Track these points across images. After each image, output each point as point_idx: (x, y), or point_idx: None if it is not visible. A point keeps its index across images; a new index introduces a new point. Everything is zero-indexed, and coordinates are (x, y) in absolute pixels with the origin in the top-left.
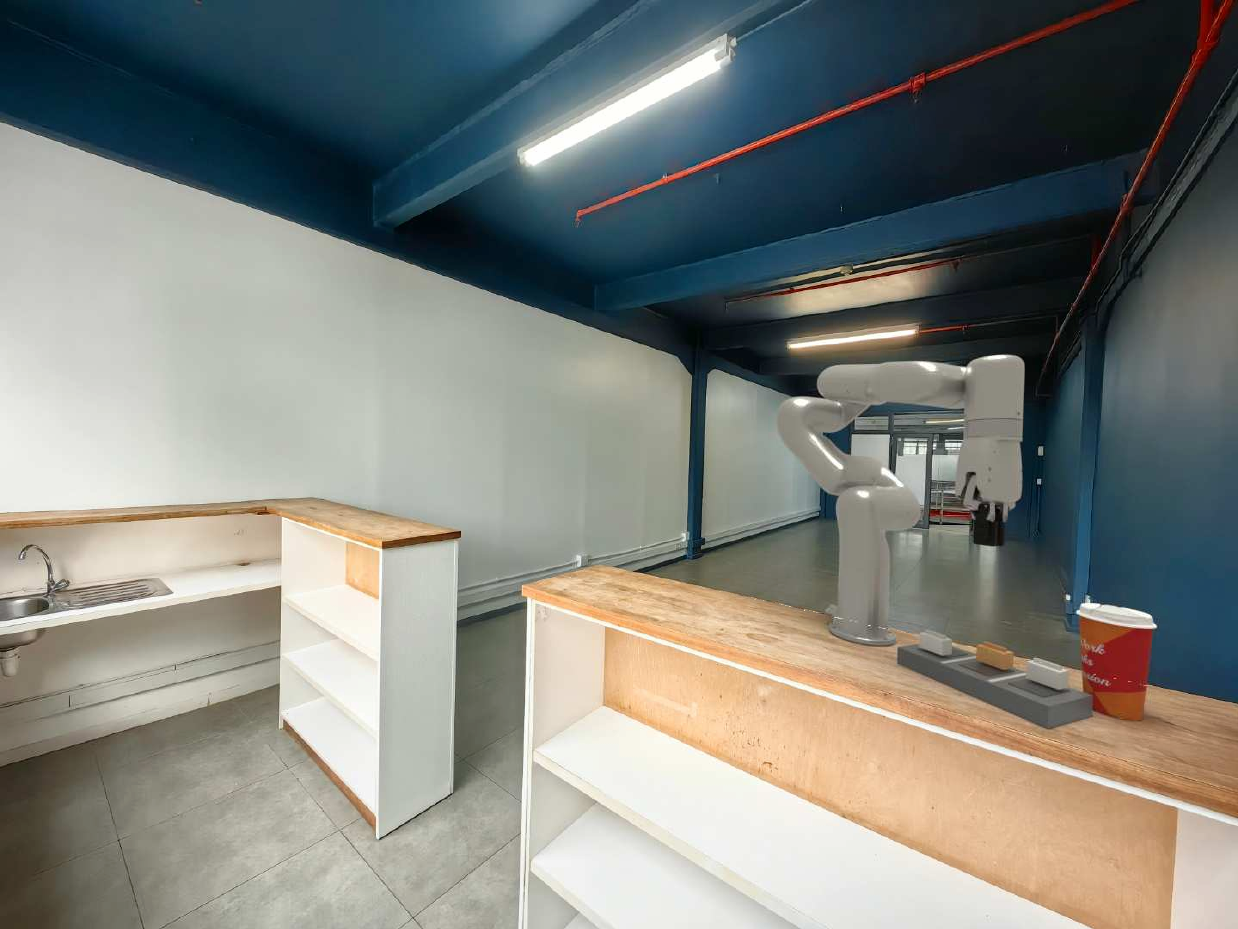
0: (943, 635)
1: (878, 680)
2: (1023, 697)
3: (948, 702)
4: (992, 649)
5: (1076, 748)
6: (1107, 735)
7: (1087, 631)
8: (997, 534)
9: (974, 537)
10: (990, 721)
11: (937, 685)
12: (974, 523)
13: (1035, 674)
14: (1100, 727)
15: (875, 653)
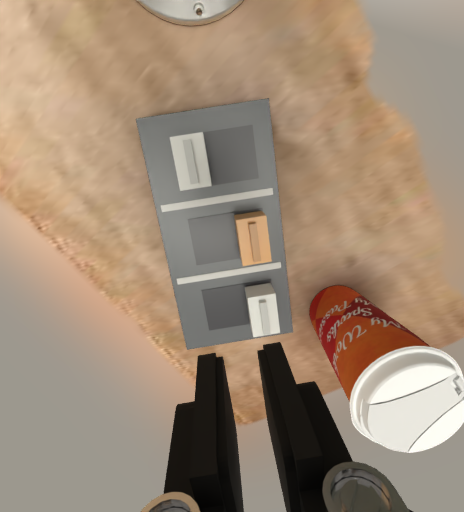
0: (192, 181)
1: (51, 184)
2: (182, 323)
3: (115, 264)
4: (244, 244)
5: (177, 366)
6: (248, 351)
7: (348, 365)
8: (276, 461)
9: (199, 377)
10: (130, 311)
11: (146, 214)
12: (194, 450)
13: (247, 302)
14: (263, 337)
15: (136, 62)
